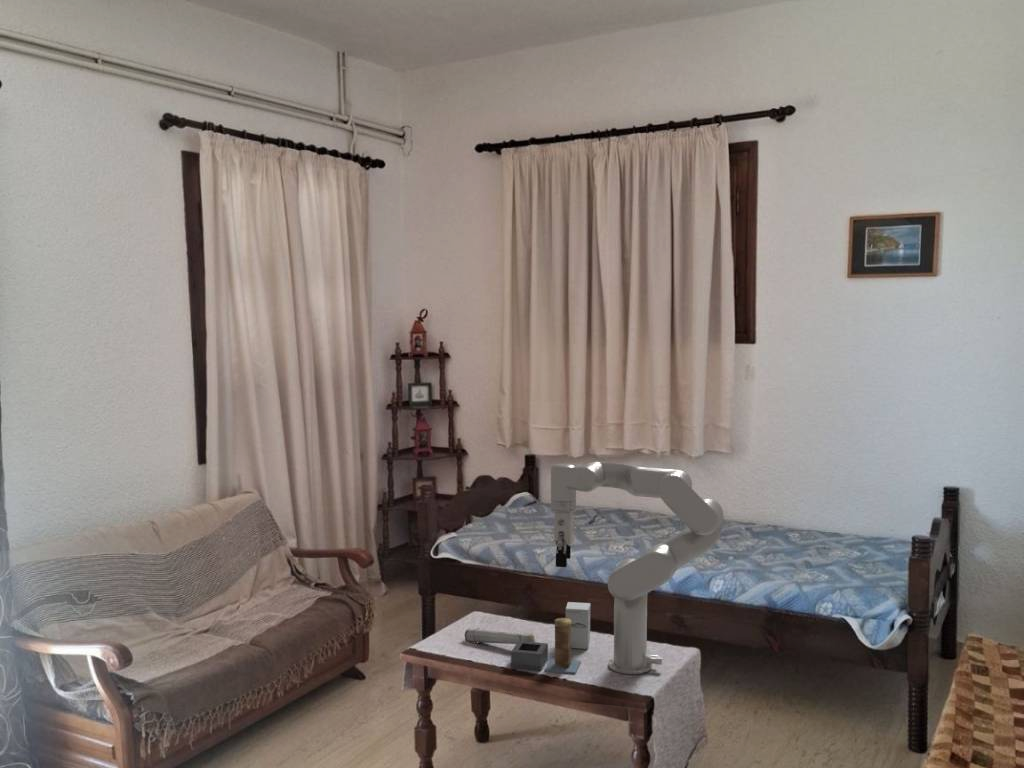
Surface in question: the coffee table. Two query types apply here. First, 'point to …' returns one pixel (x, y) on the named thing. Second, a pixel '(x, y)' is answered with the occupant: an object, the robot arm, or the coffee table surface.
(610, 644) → the coffee table surface
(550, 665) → the rubber mat
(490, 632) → the grey wand device
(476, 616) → the coffee table surface
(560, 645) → the key peg
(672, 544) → the robot arm
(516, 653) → the block
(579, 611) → the supplement box
